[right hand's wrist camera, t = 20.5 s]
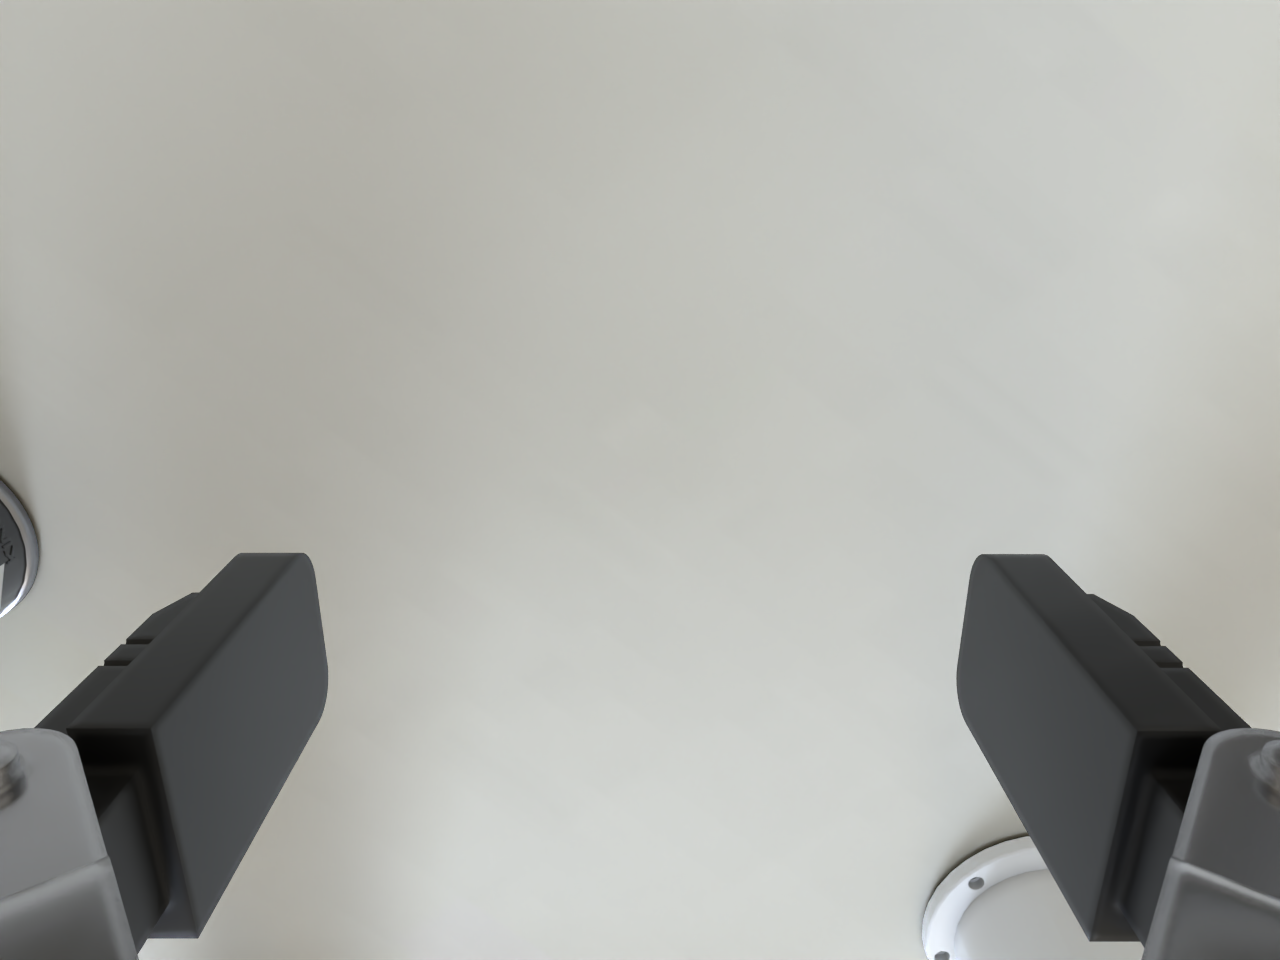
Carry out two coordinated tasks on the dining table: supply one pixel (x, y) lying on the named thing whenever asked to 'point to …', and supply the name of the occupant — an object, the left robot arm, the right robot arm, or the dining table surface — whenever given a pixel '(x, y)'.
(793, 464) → the dining table surface
